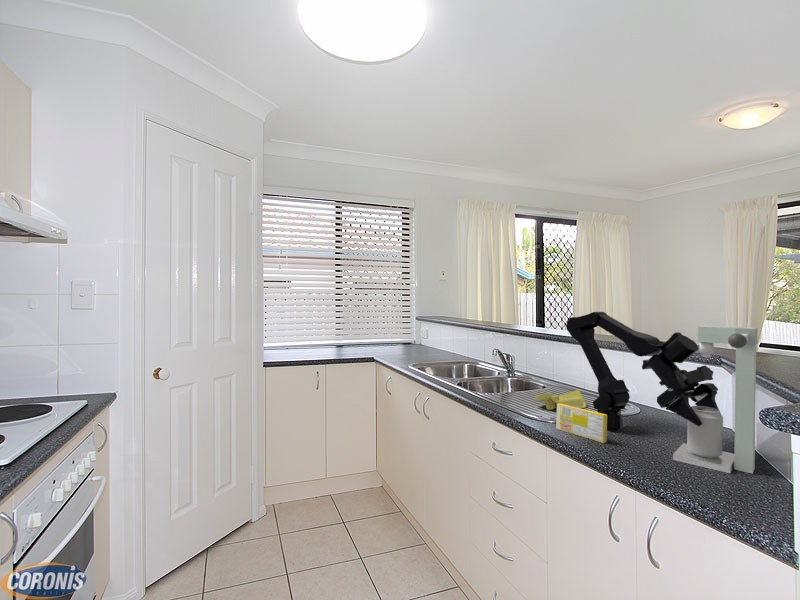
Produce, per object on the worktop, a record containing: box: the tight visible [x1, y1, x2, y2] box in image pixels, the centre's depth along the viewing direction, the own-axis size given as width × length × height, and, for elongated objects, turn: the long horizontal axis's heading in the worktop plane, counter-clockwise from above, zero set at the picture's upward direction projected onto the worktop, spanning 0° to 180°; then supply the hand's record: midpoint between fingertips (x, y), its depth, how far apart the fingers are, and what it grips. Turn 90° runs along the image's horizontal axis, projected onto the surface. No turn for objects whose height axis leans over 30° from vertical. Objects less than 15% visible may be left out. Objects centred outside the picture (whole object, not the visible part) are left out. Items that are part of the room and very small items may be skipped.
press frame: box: [697, 325, 758, 475], centre depth 101 cm, size 11×21×35 cm, turn 135°
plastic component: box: [534, 390, 587, 410], centre depth 161 cm, size 20×7×10 cm
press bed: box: [672, 442, 734, 474], centre depth 109 cm, size 12×12×2 cm
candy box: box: [555, 403, 608, 444], centre depth 129 cm, size 16×2×8 cm, turn 33°
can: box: [686, 405, 724, 458], centre depth 110 cm, size 8×8×12 cm
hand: (711, 423), depth 108 cm, fingers open, 9 cm apart
